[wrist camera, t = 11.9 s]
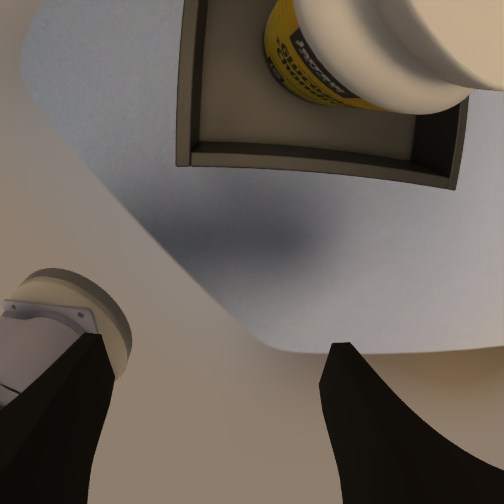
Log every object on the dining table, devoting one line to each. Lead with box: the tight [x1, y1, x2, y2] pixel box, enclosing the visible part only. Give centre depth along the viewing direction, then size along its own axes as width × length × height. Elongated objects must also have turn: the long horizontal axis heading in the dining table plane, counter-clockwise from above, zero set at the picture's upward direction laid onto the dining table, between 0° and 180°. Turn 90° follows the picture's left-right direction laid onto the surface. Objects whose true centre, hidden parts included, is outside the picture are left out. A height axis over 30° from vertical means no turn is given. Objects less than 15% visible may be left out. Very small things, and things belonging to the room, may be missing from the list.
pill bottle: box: [263, 0, 504, 115], centre depth 8 cm, size 6×6×12 cm
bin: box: [176, 0, 469, 190], centre depth 12 cm, size 13×12×4 cm
